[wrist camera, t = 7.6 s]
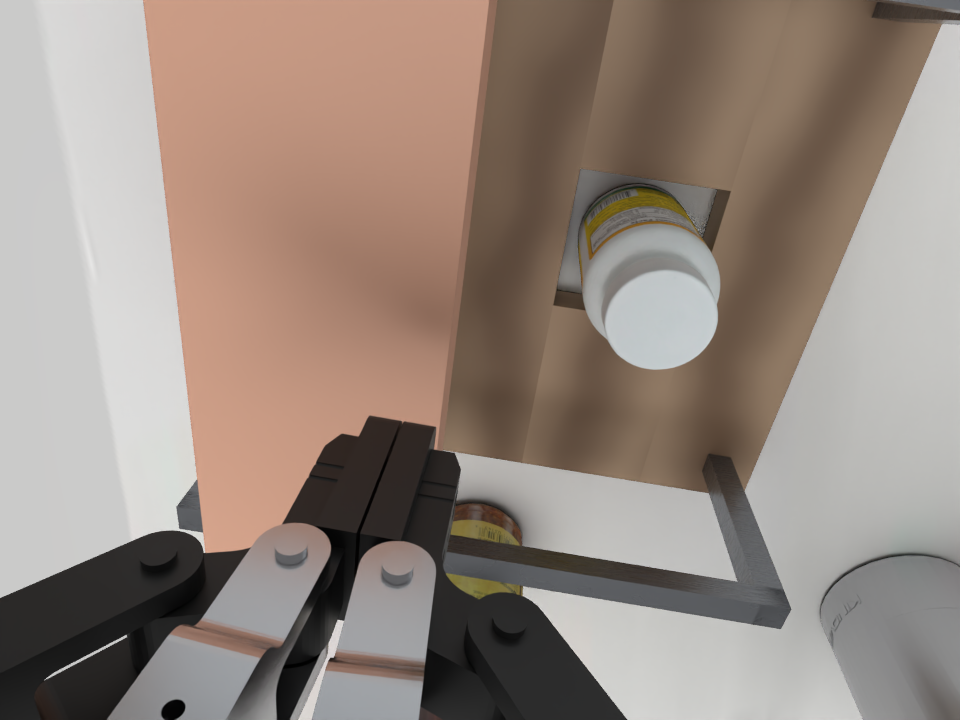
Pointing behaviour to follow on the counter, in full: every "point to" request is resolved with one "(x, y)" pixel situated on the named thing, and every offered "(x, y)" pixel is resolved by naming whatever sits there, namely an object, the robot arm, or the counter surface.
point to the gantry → (736, 601)
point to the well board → (680, 159)
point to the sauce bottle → (483, 526)
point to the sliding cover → (313, 225)
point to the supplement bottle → (648, 277)
